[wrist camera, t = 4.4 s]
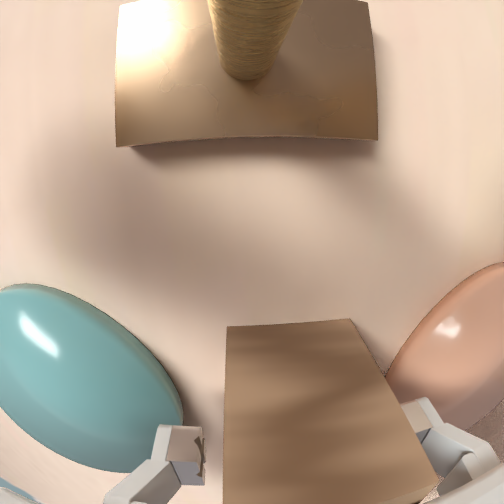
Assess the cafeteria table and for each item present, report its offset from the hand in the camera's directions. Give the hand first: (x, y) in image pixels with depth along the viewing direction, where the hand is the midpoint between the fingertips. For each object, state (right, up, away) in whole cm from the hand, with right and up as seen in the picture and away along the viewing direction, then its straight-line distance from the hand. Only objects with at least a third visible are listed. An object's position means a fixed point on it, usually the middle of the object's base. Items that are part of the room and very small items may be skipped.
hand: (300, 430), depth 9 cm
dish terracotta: (+11, 0, +4) cm, 12 cm away
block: (0, +1, +3) cm, 4 cm away
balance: (-2, +12, -1) cm, 13 cm away
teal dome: (-12, -1, +3) cm, 12 cm away
